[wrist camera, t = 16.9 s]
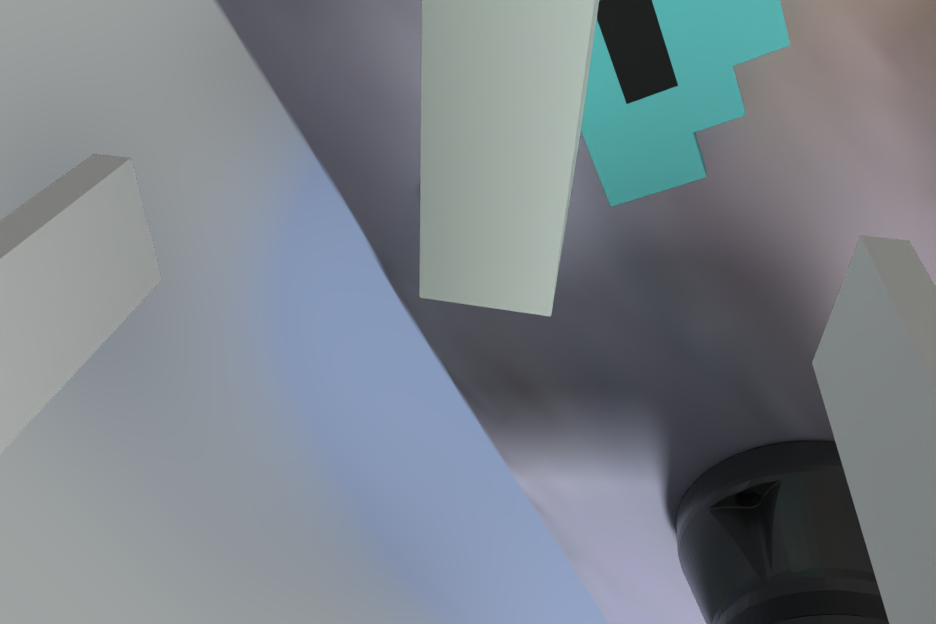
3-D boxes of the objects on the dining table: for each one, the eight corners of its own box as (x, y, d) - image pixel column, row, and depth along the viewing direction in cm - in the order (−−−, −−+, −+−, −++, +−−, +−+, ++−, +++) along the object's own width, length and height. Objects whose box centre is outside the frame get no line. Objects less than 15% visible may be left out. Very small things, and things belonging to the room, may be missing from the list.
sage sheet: (580, 132, 34) (551, 316, 22) (491, 122, 34) (419, 297, 23) (626, -192, 26) (616, -158, 15) (512, -199, 27) (423, -172, 16)
